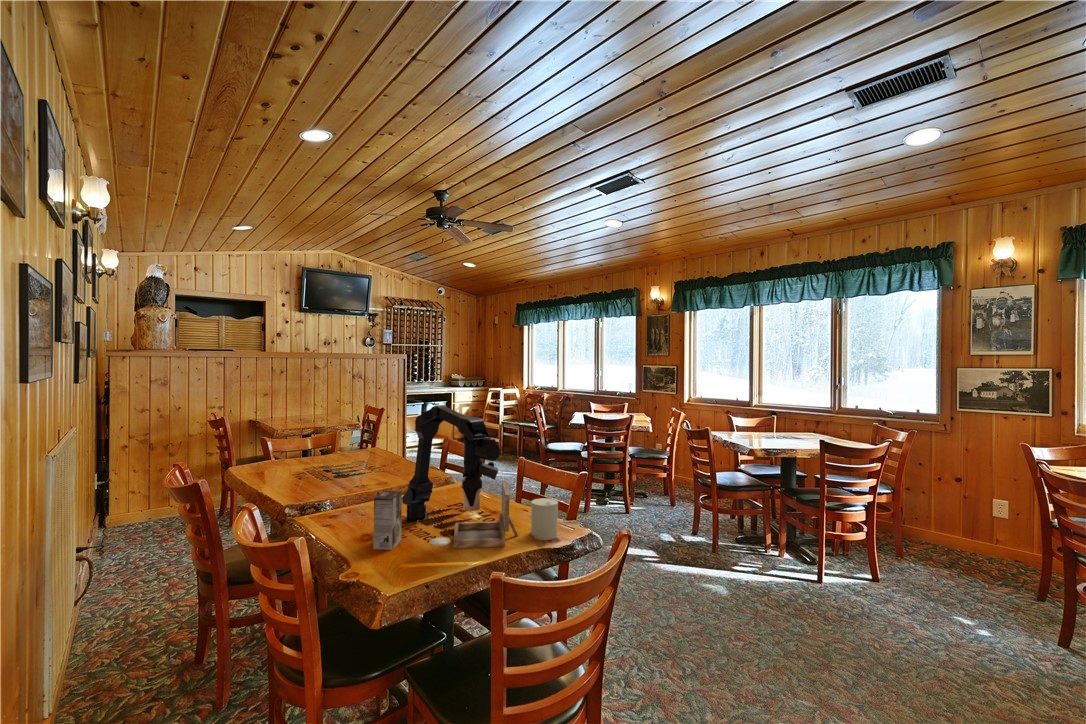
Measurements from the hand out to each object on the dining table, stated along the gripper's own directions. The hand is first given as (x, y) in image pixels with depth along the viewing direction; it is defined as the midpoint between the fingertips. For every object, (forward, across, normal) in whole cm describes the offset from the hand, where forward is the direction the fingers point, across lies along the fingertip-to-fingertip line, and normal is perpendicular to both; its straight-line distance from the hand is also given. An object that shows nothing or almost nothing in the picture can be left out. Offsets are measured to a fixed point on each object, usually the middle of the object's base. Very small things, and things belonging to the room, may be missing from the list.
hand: (471, 503), depth 169 cm
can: (+12, +2, -25) cm, 27 cm away
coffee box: (+12, -2, +26) cm, 29 cm away
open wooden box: (+12, 0, -5) cm, 13 cm away
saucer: (+12, -3, +10) cm, 16 cm away
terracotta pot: (+2, 0, 0) cm, 2 cm away
